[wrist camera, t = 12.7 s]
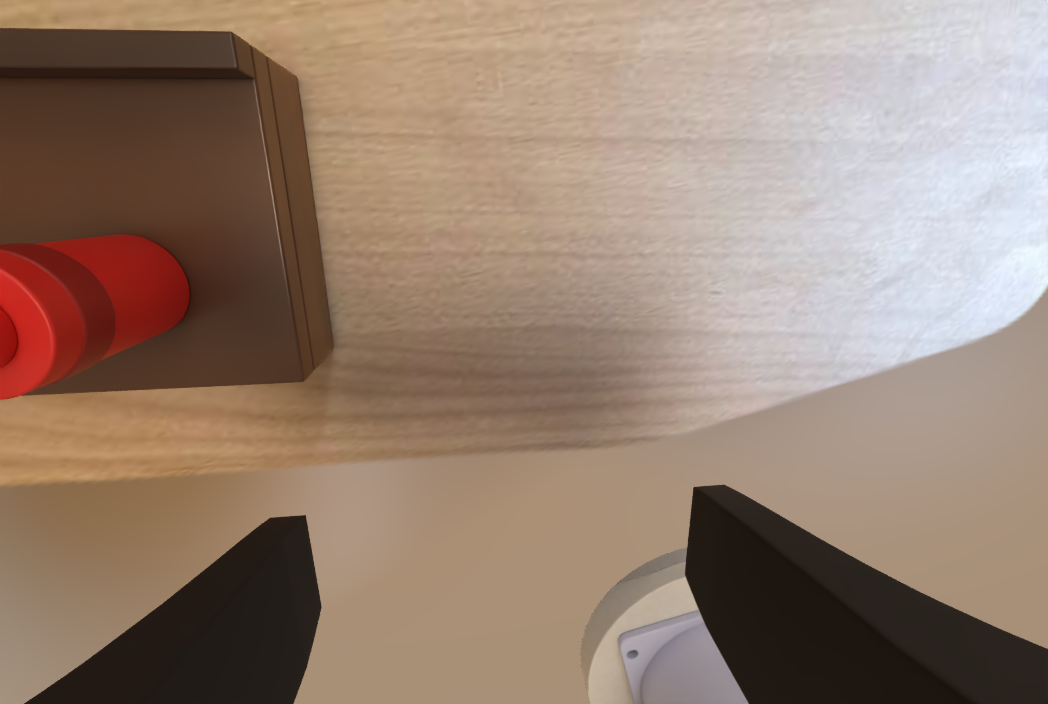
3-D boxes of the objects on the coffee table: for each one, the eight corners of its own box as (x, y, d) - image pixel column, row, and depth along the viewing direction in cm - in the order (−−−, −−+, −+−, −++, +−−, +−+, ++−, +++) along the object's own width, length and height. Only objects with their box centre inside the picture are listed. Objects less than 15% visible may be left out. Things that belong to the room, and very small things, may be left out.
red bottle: (210, 320, 14) (37, 404, 8) (112, 348, 14) (-130, 452, 8) (161, 219, 13) (-71, 237, 8) (55, 248, 13) (-259, 288, 8)
